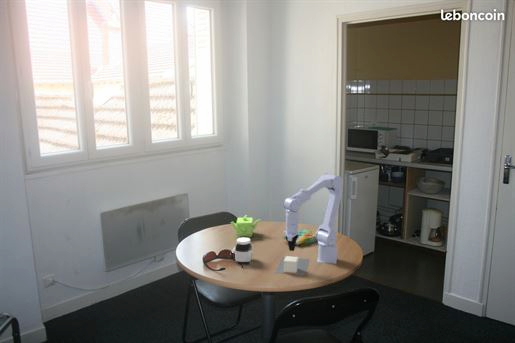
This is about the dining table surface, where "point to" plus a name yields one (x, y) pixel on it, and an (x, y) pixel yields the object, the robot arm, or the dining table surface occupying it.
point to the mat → (301, 267)
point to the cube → (291, 264)
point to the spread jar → (243, 251)
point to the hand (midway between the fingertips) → (291, 250)
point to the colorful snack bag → (304, 237)
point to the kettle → (244, 226)
